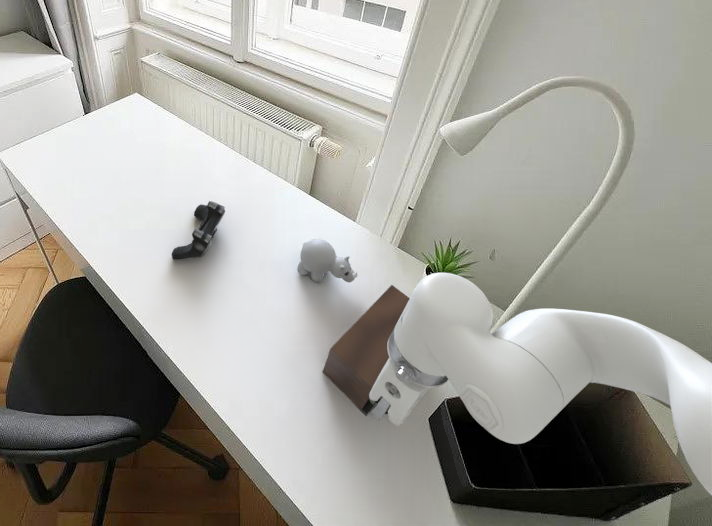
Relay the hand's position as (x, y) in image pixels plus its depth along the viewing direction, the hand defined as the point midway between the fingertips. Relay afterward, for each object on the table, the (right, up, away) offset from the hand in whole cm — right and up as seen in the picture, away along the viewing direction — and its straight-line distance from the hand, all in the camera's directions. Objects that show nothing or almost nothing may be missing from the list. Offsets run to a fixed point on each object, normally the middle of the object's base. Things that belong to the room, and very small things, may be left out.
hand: (385, 405), depth 62 cm
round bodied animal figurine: (-2, +12, +25) cm, 28 cm away
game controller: (-29, +18, +33) cm, 48 cm away
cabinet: (+2, +2, +12) cm, 12 cm away
